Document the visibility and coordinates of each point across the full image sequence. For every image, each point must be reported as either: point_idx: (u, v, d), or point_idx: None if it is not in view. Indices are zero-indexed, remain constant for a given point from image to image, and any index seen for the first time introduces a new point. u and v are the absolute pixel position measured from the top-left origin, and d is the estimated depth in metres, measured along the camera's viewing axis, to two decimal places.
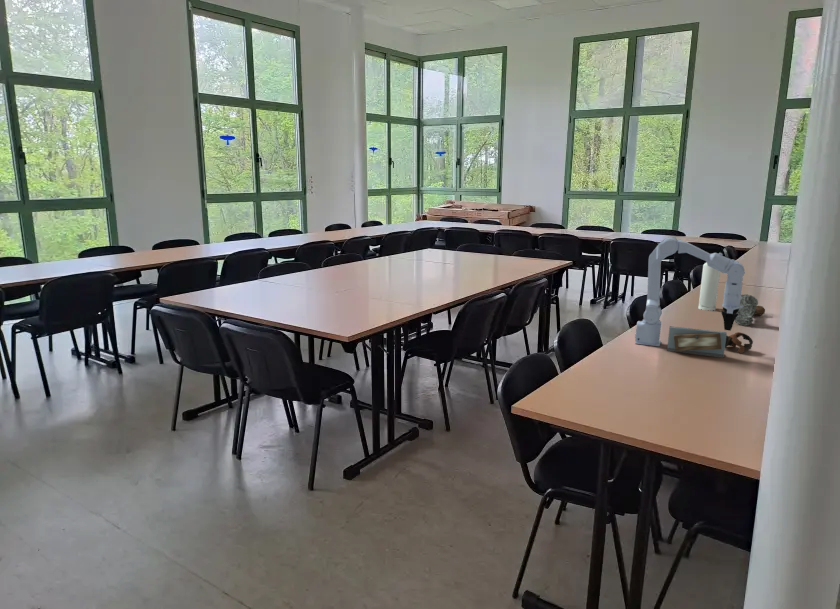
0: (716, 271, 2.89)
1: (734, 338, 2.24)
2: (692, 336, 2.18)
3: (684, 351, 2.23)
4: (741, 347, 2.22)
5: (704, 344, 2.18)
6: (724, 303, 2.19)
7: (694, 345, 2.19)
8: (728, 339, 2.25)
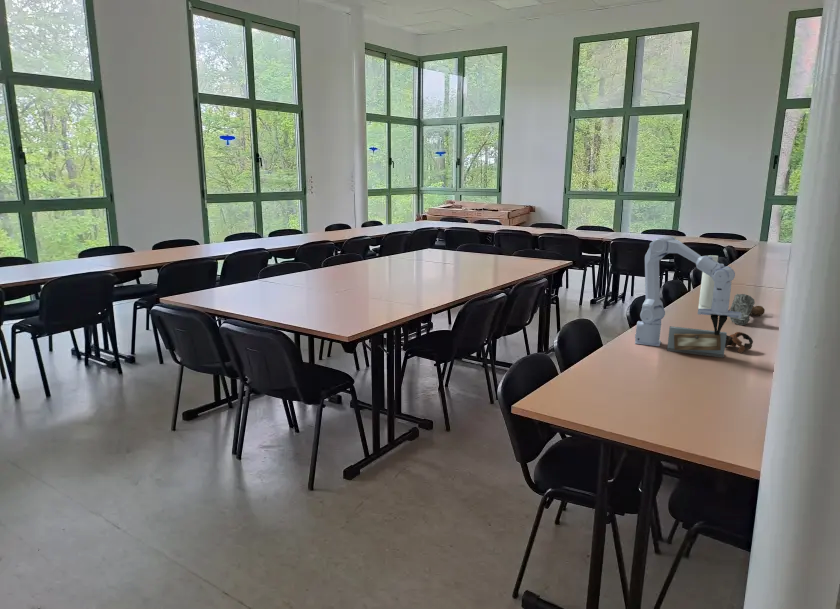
0: None
1: (734, 338, 2.24)
2: (692, 336, 2.18)
3: (684, 351, 2.23)
4: (741, 347, 2.22)
5: (704, 344, 2.18)
6: None
7: (693, 345, 2.19)
8: (728, 339, 2.26)
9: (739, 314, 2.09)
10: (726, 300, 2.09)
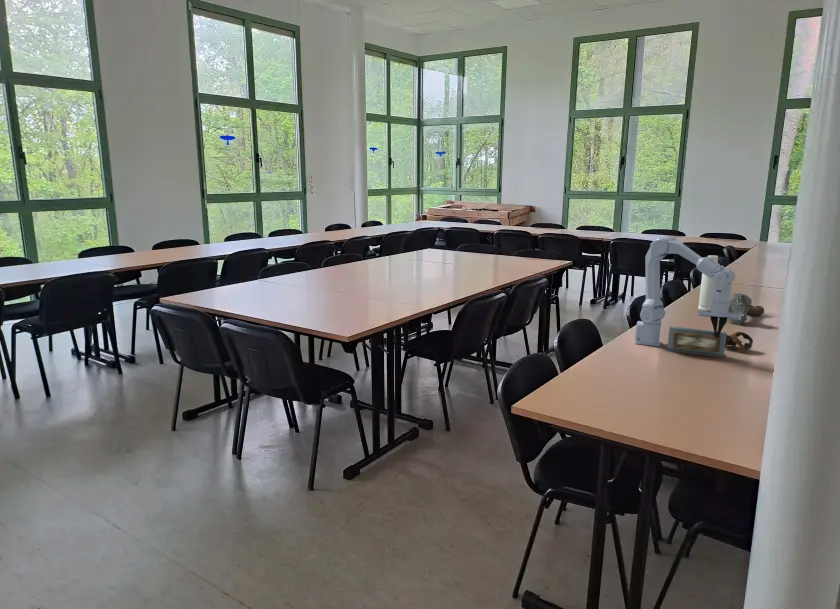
0: None
1: (734, 337, 2.24)
2: (692, 335, 2.18)
3: (684, 351, 2.23)
4: (741, 346, 2.23)
5: (703, 345, 2.18)
6: None
7: (692, 345, 2.19)
8: (728, 338, 2.26)
9: (739, 316, 2.10)
10: (726, 302, 2.09)
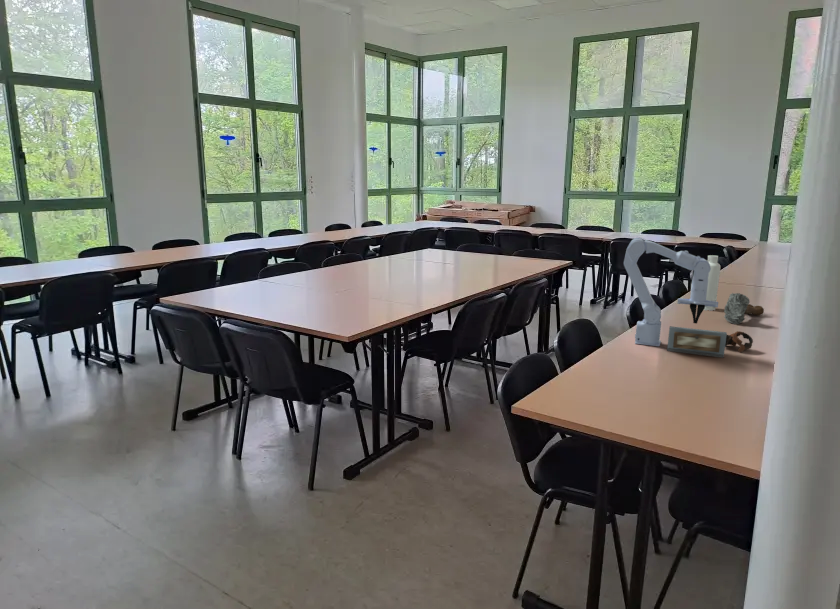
0: (716, 271, 2.89)
1: (734, 337, 2.25)
2: (692, 335, 2.18)
3: (684, 351, 2.23)
4: (741, 346, 2.23)
5: (703, 345, 2.18)
6: None
7: (692, 345, 2.19)
8: (728, 338, 2.27)
9: (716, 303, 2.22)
10: (704, 290, 2.22)
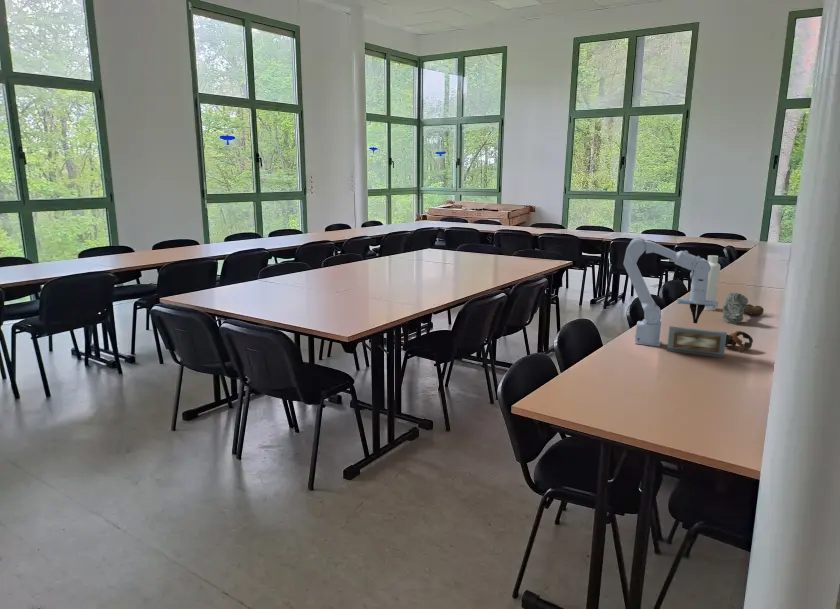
0: (716, 271, 2.89)
1: (734, 337, 2.25)
2: (692, 335, 2.18)
3: (684, 351, 2.23)
4: (742, 346, 2.24)
5: (703, 345, 2.18)
6: None
7: (692, 345, 2.19)
8: (728, 338, 2.27)
9: (716, 303, 2.22)
10: (704, 290, 2.22)
